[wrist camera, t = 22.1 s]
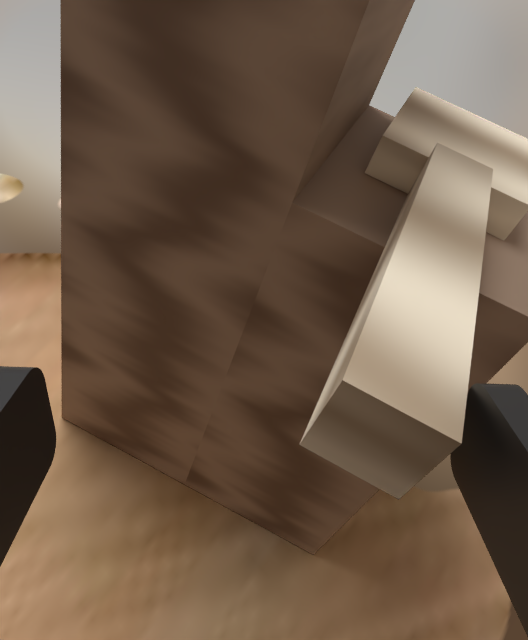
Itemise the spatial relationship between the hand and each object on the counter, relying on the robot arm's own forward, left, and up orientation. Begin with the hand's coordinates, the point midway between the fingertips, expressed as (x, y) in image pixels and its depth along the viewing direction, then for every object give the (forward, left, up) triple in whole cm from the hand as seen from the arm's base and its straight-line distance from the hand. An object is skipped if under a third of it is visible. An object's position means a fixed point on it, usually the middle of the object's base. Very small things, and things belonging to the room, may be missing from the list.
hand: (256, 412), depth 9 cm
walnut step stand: (-2, +15, -21) cm, 26 cm away
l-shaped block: (+2, +11, 0) cm, 11 cm away
